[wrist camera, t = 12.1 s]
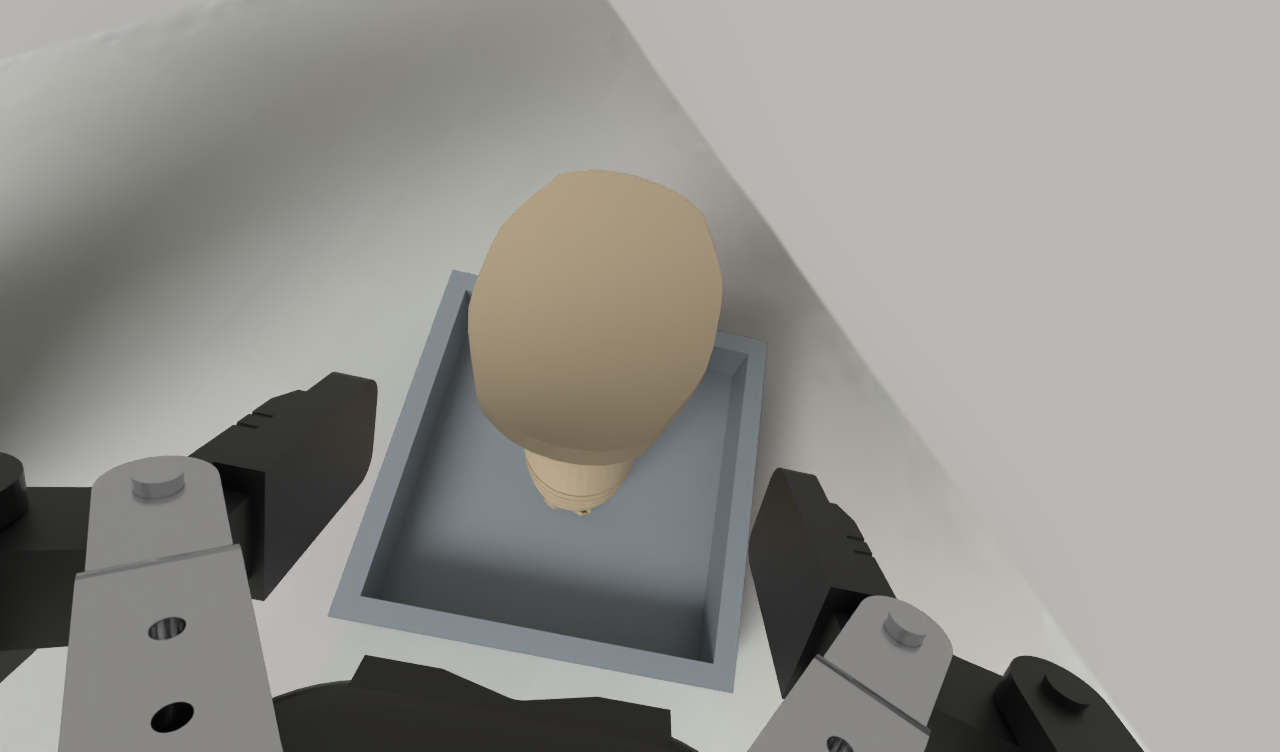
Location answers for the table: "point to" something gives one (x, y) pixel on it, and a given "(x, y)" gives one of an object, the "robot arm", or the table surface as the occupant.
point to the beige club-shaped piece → (593, 328)
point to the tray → (562, 527)
